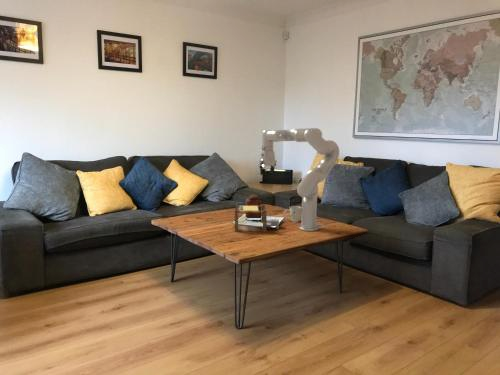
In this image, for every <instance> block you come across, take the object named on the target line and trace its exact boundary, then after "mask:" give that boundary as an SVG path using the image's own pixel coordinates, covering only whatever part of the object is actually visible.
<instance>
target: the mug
mask: <svg viewBox="0 0 500 375" xmlns="http://www.w3.org/2000/svg"><path fill="white" fill-rule="evenodd" d="M287 212H289V213H290V214H289V215H290V217H287V215H286V213H287ZM283 216H284V218H286V219H290V221H291V222H293V223H298V222H300V220H301V217H302V206H299V205H290V206H289V209H288V208H287V209H284V211H283Z"/></svg>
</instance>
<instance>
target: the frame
mask: <svg viewBox="0 0 500 375" xmlns="http://www.w3.org/2000/svg"><path fill="white" fill-rule="evenodd" d="M240 205H241V204H234V232H238V233H239V232H240V233H241V232H250V233H251V232H253V233H257V232H267V216H268V215H267V213H268V212H267V211H268V210H267V209H266V204H261V205H245V204H244V205H242V206H258V207H261V211H240V210H239V208H240ZM240 213H241V214H244V213H245V214H246V213H261V223H262V222H263V228H262V227H250V226H241V225H238V223H239V214H240Z"/></svg>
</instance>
